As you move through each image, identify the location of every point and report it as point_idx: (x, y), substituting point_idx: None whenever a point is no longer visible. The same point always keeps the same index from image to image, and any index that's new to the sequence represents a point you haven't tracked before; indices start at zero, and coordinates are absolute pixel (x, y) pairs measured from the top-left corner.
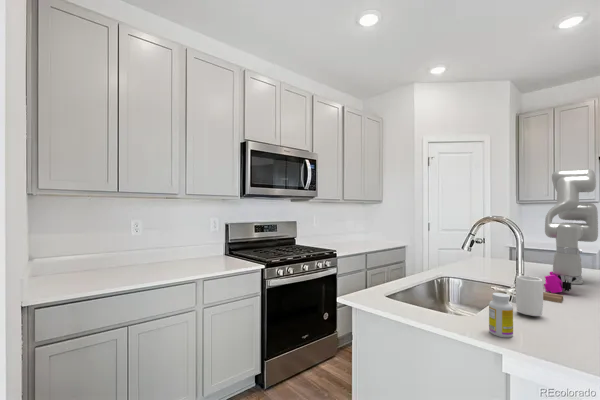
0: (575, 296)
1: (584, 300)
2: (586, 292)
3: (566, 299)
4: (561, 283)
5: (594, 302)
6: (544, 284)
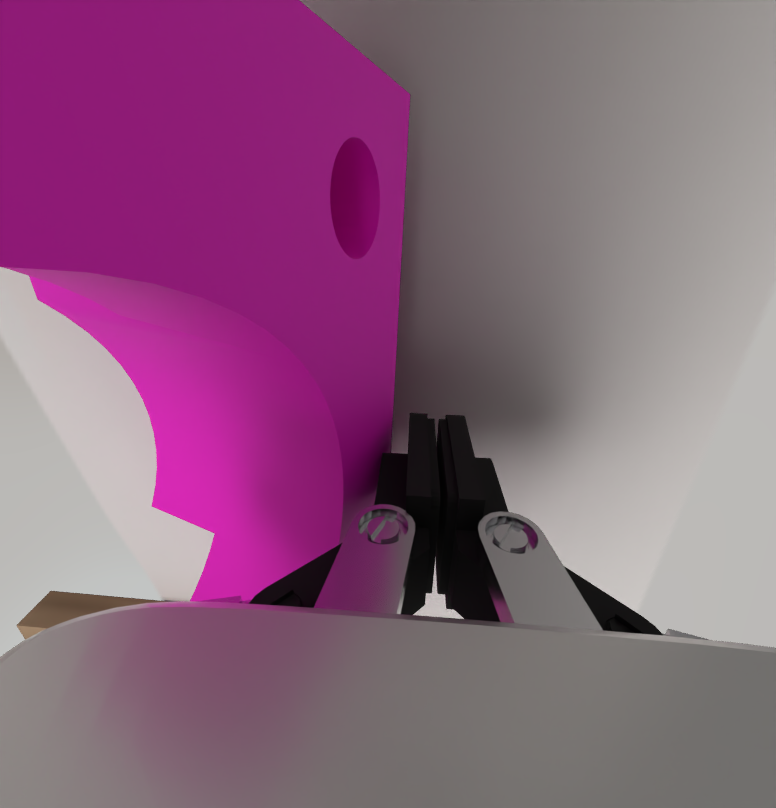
0: (515, 459)
1: (576, 560)
2: (757, 7)
3: (431, 610)
4: (353, 456)
5: (652, 575)
6: (161, 504)
